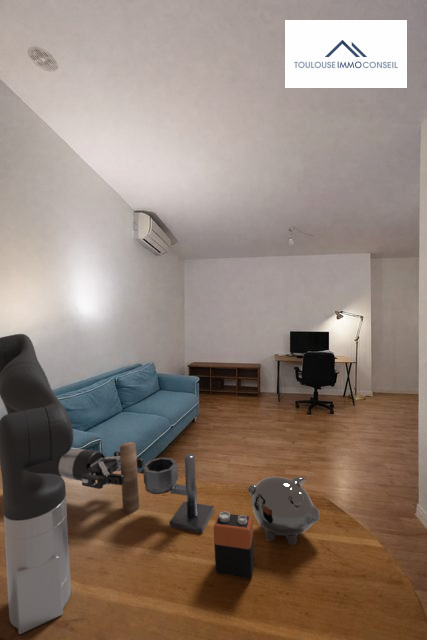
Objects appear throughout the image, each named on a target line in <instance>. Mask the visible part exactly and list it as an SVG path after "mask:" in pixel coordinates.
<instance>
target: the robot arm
mask: <svg viewBox="0 0 427 640" xmlns="http://www.w3.org/2000/svg"><path fill="white" fill-rule="evenodd" d="M0 399H1V400H2V402H3V405H4V408H5V409H6V412H7V414H4V415H3V416H2V417H1V419H0V474H1V484H2V503H3V505H2V508H3V523H4V524H3V525H4V526H3V527H4V543H5V544H4V546H5V562H6V563H5V565H6V584H7V585H6V586H7V599H8V600H7V601H8V617H9V622H10V625H12V627H15V628H16V629H17V630H18V631H17V632H18V635H22V634H24V633H27V632H29V631H30V630H32V629H35V628H37V627H39V626H41V625H43V624H45V623H47V622H49V621H52V620H54V619H56V618H58V617H60V616H62V615H63V614H64V607H65V606H66V604H67V603H68V601H69V599H70V598H71V597H70V596H71V594H72V593H71V592H72V586H71V585H72V584H71V570H70V569H71V568H70V552H69V551H70V550H69V534H68V533H69V532H68V514H67V513H68V512H67V511H68V510H67V491H66V482H65V480H64V478H65V479H68V480H73V481H74V480H75V481H79V482H80V481H81V484H82V486H83V487H88V488H92V489H98V490H101V489H103V488H104V485H105V486H109V485H118V486H122V485H123V484H124V475H121V474H118V473H114V472H118V471H121V463H120V451H114V452H113V456H105V454H103V452H101V451H99V450H91V449H81V448H72V446H73V442H74V429H73V424H72V421H71V418H70V416H69V414H68V412H67V409H66V408H65V406H63V404H62V403H61V400H60V399H58V397H57V396H56V394H55V393H54V390H53V389H52V387H51V385H50V381H49V380H48V377H47V375H46V373H45V370H44V369H43V367H42V365H41V364H40V362H39V359H38V357H37V354H36V350H35V346H34V344H33V341H32V339H30V337H29V336H28V335H27V334H24V333H17V334H11V335H6V336H2V337H0ZM118 463H119V466H118ZM143 466H144V459H143V458H140V457H139V458H138V457H137V469H143Z"/></svg>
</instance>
